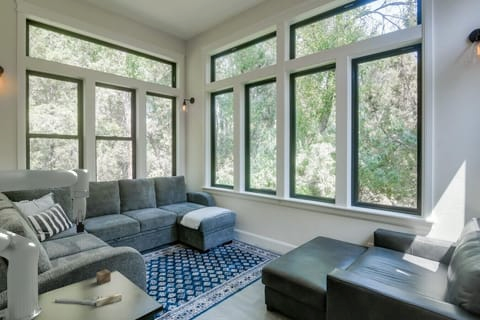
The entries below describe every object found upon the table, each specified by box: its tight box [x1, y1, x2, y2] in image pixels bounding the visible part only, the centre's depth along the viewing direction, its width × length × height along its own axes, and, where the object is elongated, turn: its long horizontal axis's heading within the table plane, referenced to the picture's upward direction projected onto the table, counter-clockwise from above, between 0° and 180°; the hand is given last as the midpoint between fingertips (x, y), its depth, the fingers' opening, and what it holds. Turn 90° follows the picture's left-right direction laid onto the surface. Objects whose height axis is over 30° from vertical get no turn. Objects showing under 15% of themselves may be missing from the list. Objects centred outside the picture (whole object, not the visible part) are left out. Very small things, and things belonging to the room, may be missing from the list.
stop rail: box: [96, 292, 123, 307], centre depth 115 cm, size 10×2×2 cm, turn 121°
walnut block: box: [95, 269, 112, 286], centre depth 134 cm, size 5×5×5 cm
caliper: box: [55, 296, 103, 307], centre depth 114 cm, size 20×1×6 cm
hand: (80, 232), depth 124 cm, fingers closed
